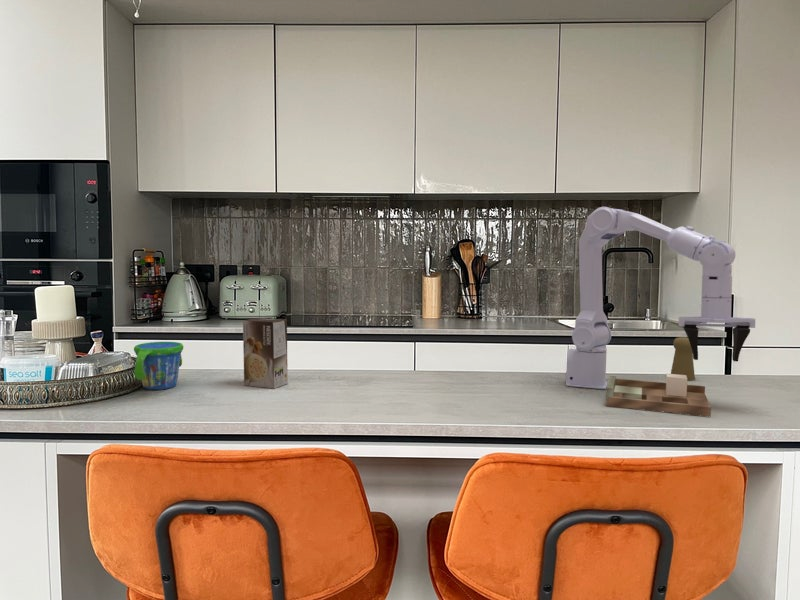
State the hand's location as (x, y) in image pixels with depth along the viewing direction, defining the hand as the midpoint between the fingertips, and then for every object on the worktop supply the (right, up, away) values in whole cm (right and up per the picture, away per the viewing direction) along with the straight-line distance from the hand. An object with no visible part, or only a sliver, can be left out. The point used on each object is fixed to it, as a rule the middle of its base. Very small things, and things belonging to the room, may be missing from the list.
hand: (715, 360), depth 127 cm
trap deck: (-12, -10, +2) cm, 16 cm away
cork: (+7, -8, +30) cm, 32 cm away
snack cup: (-126, -8, +13) cm, 126 cm away
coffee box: (-101, -8, +16) cm, 103 cm away
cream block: (-7, -8, +3) cm, 11 cm away
